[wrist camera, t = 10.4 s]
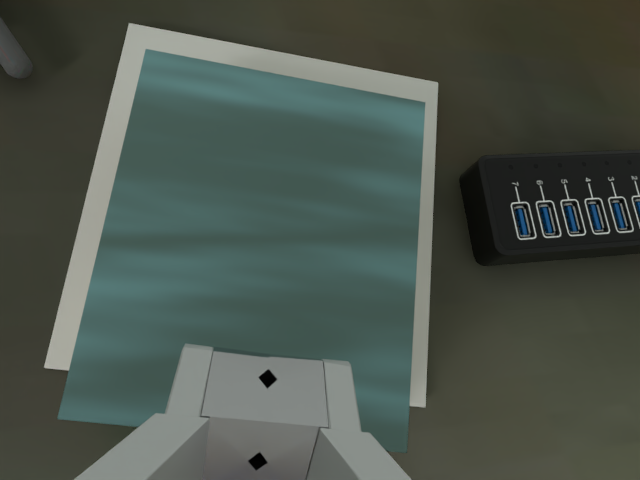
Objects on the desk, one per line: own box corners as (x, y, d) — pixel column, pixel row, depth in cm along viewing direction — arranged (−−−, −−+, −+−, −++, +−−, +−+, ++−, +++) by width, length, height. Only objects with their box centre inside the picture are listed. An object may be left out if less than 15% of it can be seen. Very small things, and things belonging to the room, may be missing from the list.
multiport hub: (454, 175, 24) (477, 154, 22) (655, 166, 26) (694, 146, 24) (472, 268, 23) (498, 255, 21) (681, 251, 25) (724, 238, 23)
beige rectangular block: (406, 453, 15) (425, 102, 19) (57, 418, 14) (145, 48, 18) (371, 439, 19) (392, 149, 23) (93, 411, 18) (160, 108, 21)
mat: (419, 407, 20) (425, 407, 20) (49, 368, 19) (43, 367, 18) (433, 89, 25) (438, 82, 24) (131, 32, 23) (129, 23, 22)
